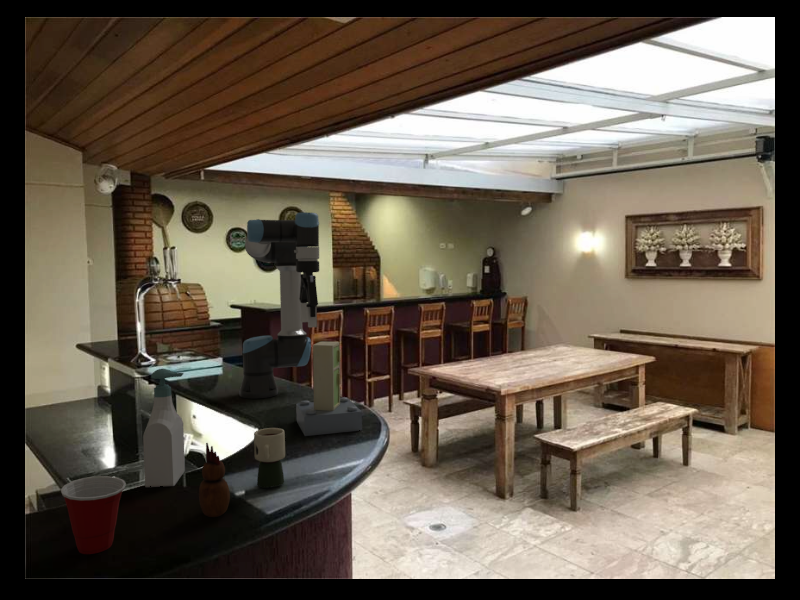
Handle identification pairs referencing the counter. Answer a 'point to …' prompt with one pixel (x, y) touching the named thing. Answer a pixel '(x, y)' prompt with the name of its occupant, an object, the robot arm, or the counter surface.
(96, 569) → the counter surface
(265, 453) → the character mug
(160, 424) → the white spray bottle
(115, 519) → the plastic cup
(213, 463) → the wooden figurine
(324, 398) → the toy refrigerator
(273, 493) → the counter surface
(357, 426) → the base brick
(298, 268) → the robot arm
